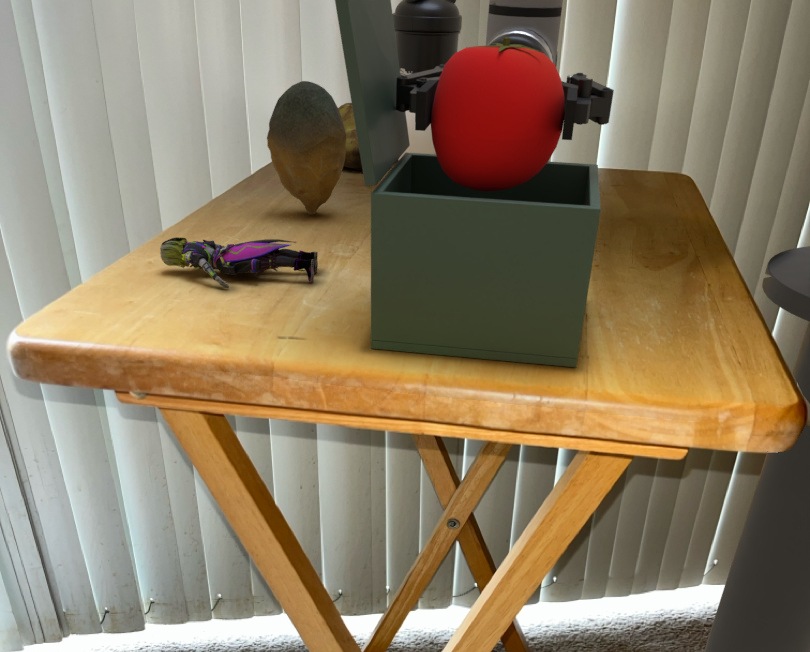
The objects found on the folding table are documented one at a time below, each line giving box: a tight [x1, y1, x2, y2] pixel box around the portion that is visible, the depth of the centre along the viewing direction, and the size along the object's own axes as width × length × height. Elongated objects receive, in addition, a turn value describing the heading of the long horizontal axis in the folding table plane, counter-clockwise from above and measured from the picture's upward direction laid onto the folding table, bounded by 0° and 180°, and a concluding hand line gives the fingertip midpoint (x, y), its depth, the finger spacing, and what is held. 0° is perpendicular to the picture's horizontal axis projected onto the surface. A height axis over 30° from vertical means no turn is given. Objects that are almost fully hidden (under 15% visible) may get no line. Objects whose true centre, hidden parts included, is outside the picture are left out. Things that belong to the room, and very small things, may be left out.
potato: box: [338, 102, 363, 171], centre depth 128 cm, size 8×13×8 cm, turn 173°
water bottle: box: [392, 0, 463, 163], centre depth 127 cm, size 10×10×23 cm
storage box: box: [370, 153, 602, 368], centre depth 74 cm, size 18×16×13 cm
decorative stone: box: [266, 80, 346, 215], centre depth 102 cm, size 10×6×15 cm, turn 84°
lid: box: [334, 0, 410, 187], centre depth 66 cm, size 18×16×1 cm
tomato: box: [431, 38, 565, 191], centre depth 67 cm, size 10×11×11 cm
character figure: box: [159, 236, 319, 289], centre depth 86 cm, size 9×4×16 cm
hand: (494, 115), depth 64 cm, fingers closed on tomato, 11 cm apart
